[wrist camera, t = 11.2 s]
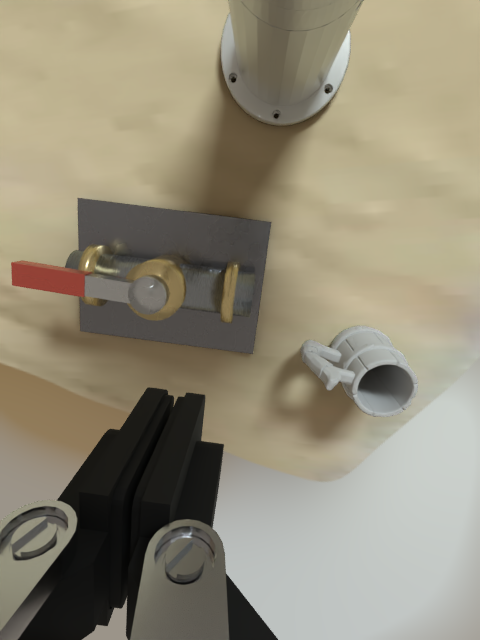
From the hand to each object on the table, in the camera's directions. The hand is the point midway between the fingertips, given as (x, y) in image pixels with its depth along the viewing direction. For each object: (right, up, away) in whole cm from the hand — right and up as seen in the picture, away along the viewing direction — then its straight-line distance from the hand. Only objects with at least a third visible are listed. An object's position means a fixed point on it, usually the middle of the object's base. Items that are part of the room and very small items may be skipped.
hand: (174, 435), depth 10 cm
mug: (+15, 0, +33) cm, 36 cm away
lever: (-12, +7, +24) cm, 28 cm away
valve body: (-6, +8, +31) cm, 33 cm away
